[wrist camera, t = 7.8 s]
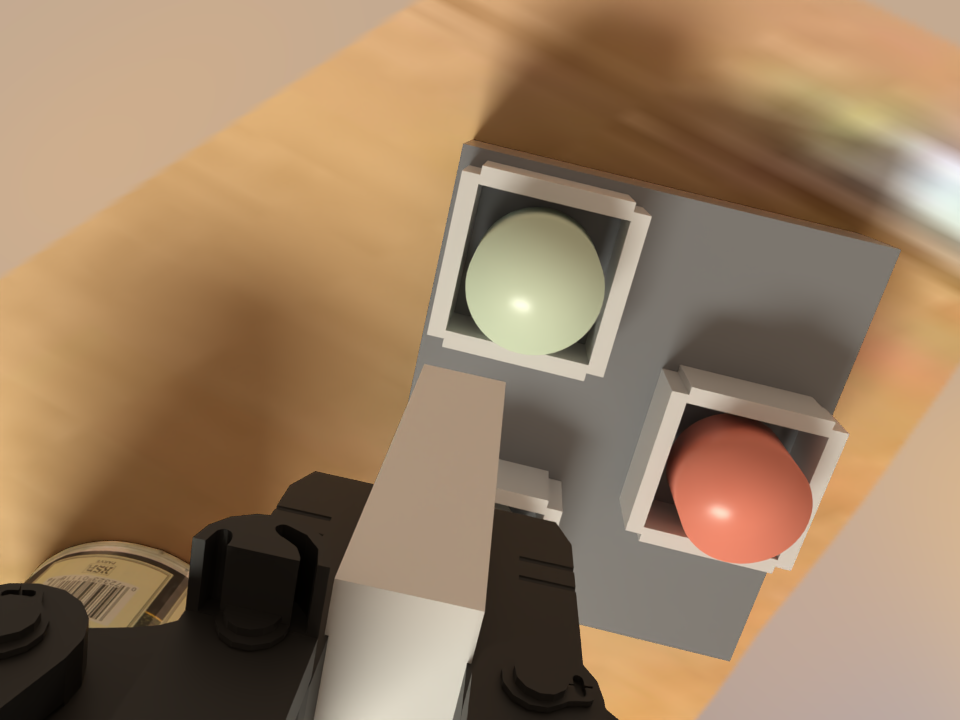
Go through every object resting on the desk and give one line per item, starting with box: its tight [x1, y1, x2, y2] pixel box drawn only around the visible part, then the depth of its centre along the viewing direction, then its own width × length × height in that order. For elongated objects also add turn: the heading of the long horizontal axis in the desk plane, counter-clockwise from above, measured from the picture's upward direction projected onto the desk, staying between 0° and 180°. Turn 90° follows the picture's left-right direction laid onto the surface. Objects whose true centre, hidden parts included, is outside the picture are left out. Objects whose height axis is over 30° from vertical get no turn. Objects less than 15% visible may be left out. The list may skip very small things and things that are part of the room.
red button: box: [666, 413, 813, 564], centre depth 22 cm, size 4×4×2 cm
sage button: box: [465, 207, 605, 355], centre depth 21 cm, size 4×4×2 cm
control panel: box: [408, 140, 901, 661], centre depth 25 cm, size 13×15×5 cm
